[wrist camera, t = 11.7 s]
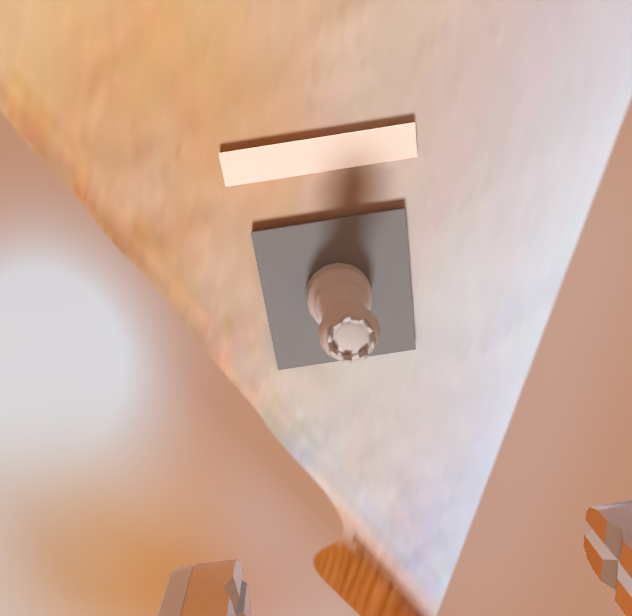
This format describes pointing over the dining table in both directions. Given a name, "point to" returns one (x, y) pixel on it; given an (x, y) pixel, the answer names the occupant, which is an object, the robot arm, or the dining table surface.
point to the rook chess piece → (343, 312)
